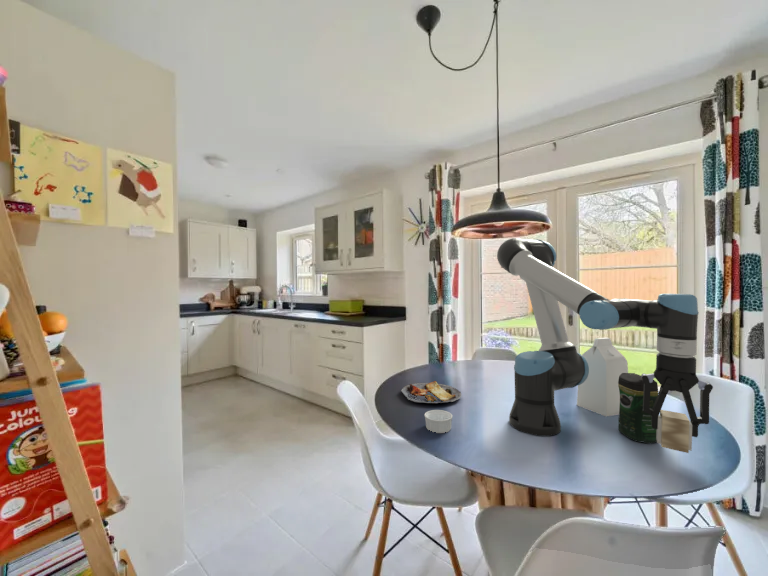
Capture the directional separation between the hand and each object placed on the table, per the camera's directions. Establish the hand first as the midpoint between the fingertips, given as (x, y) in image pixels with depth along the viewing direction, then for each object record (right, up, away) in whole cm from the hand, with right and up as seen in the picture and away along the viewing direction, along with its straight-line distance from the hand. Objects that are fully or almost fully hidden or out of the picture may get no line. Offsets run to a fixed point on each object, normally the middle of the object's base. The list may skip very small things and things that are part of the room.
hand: (673, 444), depth 83 cm
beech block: (0, 0, 0) cm, 0 cm away
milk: (+7, -5, +36) cm, 37 cm away
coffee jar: (+2, -5, +14) cm, 15 cm away
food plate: (-55, -5, +52) cm, 75 cm away
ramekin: (-57, -5, +21) cm, 61 cm away
